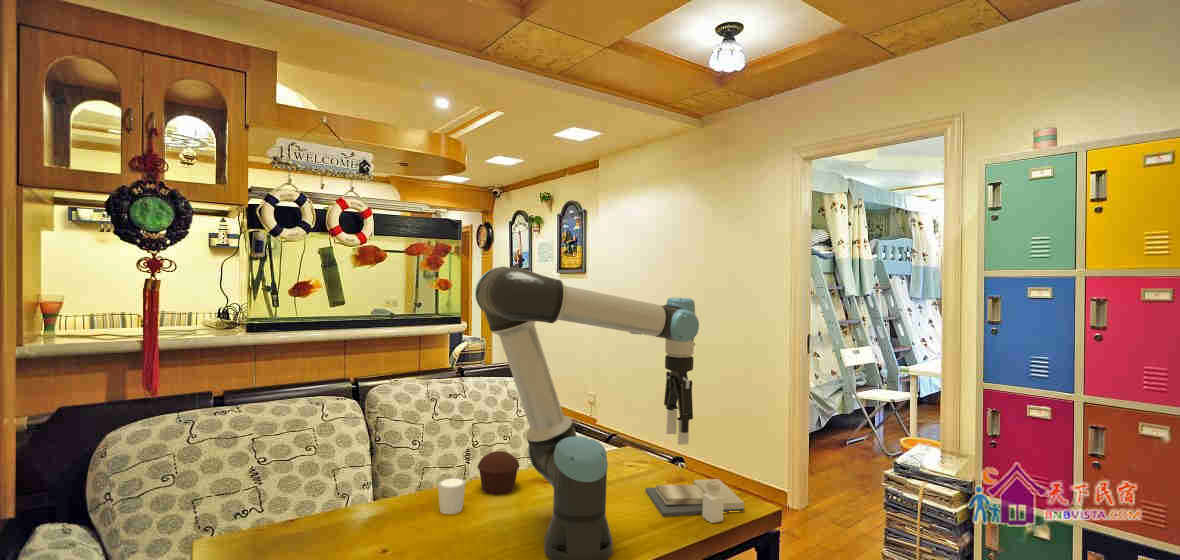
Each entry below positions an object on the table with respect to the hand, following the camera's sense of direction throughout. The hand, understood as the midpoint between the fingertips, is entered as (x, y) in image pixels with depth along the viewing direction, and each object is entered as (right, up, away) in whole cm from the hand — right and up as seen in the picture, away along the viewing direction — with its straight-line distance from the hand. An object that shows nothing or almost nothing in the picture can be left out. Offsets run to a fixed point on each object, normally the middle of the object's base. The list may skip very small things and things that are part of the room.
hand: (676, 438), depth 146 cm
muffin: (-49, -16, +6) cm, 52 cm away
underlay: (+4, -17, +1) cm, 18 cm away
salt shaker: (+7, -18, -9) cm, 22 cm away
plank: (+1, -16, +1) cm, 16 cm away
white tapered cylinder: (-59, -16, -8) cm, 62 cm away
